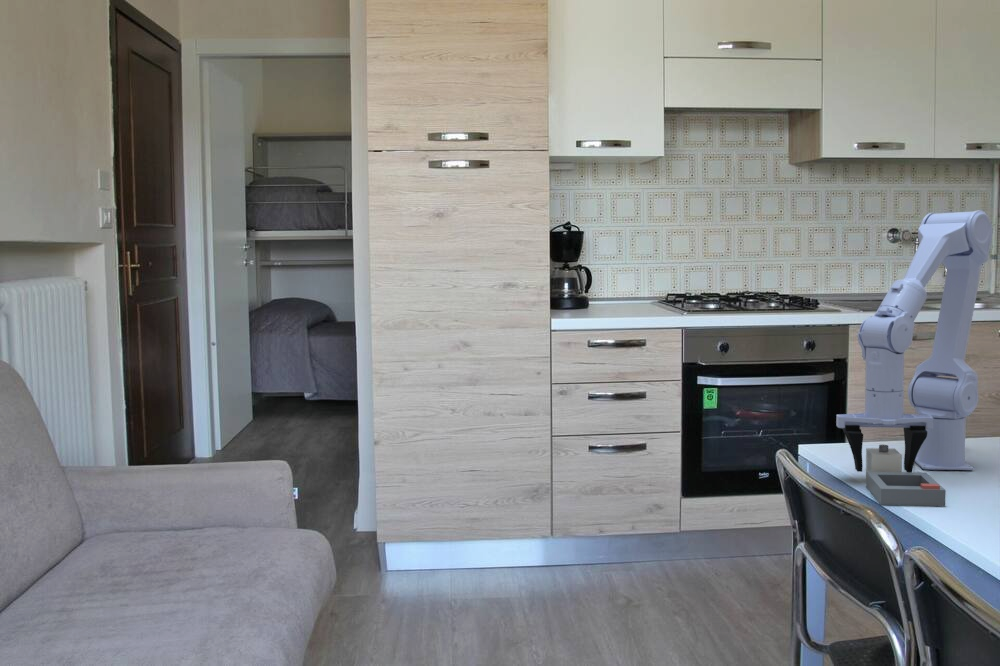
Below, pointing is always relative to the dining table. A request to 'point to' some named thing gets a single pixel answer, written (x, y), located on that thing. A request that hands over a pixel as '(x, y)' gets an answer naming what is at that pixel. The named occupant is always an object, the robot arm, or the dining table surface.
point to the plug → (883, 459)
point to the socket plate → (905, 489)
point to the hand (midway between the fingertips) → (883, 470)
